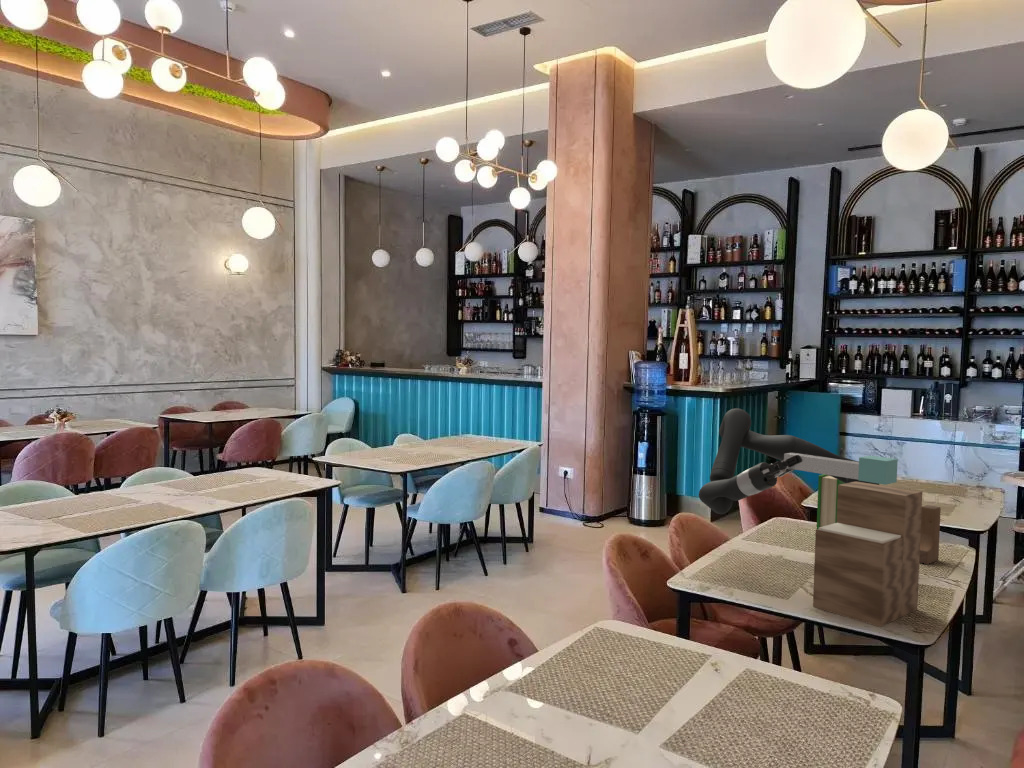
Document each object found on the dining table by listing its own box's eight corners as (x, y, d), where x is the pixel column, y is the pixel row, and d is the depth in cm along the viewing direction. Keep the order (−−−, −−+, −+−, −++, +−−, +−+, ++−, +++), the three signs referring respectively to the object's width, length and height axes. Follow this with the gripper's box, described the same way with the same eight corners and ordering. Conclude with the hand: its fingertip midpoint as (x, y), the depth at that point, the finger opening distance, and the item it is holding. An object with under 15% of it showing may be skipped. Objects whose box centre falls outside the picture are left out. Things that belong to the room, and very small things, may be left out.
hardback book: (837, 544, 264) (839, 478, 263) (816, 540, 269) (818, 475, 268) (853, 535, 277) (855, 472, 276) (833, 532, 282) (835, 470, 281)
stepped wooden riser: (851, 591, 212) (855, 481, 211) (917, 609, 198) (922, 491, 196) (812, 606, 199) (817, 489, 198) (880, 626, 185) (885, 500, 183)
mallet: (793, 466, 212) (794, 445, 212) (896, 482, 189) (897, 459, 189) (781, 467, 209) (782, 446, 208) (885, 484, 186) (886, 461, 185)
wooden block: (927, 565, 240) (929, 510, 239) (912, 561, 244) (914, 507, 243) (938, 560, 246) (941, 507, 245) (924, 557, 249) (926, 504, 248)
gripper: (775, 488, 222) (823, 467, 209) (747, 493, 213) (795, 472, 201) (765, 465, 224) (812, 443, 212) (737, 469, 215) (784, 446, 203)
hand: (803, 457), depth 206 cm, fingers closed on mallet, 4 cm apart
